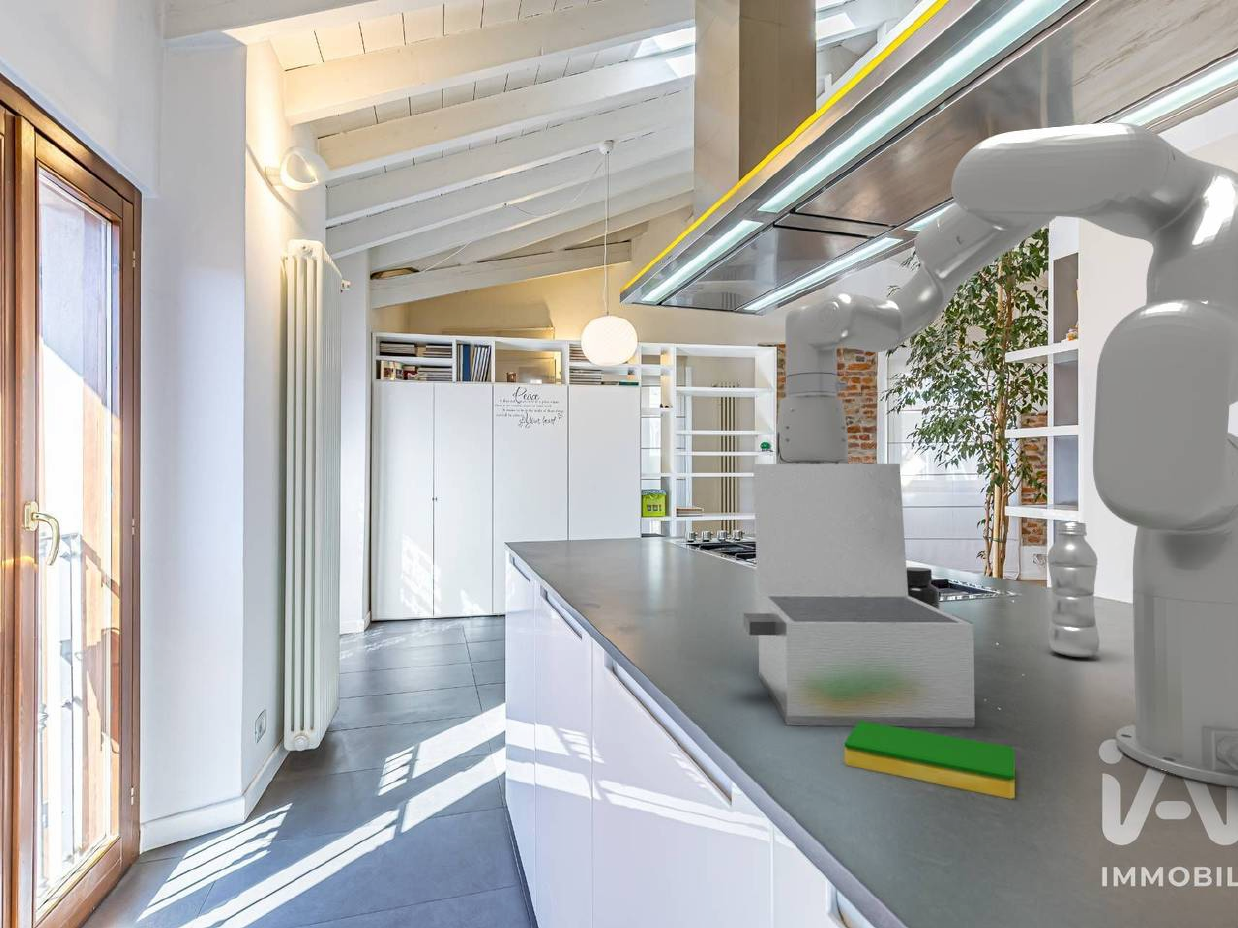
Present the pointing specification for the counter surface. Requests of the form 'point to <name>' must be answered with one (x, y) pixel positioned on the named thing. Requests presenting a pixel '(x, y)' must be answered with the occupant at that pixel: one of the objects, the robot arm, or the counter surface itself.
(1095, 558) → the plastic bottle
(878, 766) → the dish sponge
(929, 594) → the supplement bottle
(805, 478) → the lid
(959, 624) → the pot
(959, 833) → the counter surface
